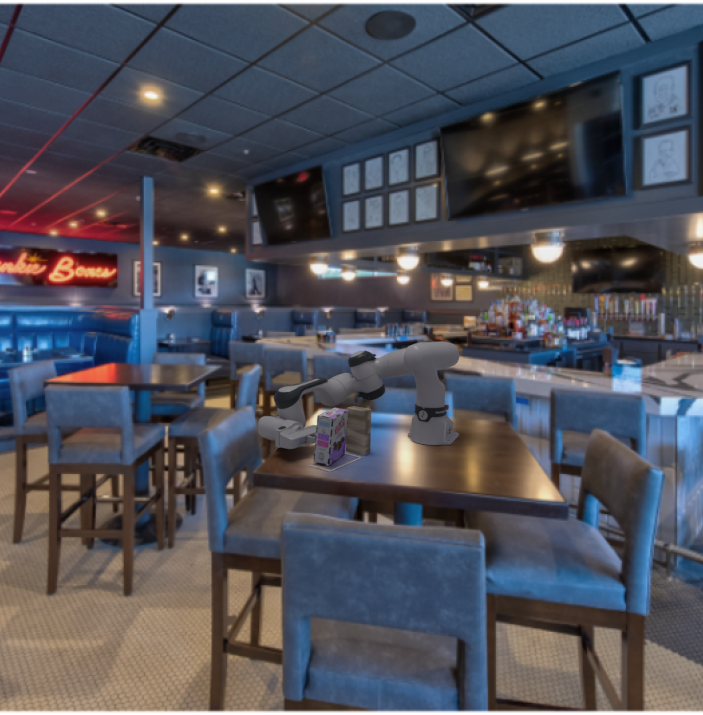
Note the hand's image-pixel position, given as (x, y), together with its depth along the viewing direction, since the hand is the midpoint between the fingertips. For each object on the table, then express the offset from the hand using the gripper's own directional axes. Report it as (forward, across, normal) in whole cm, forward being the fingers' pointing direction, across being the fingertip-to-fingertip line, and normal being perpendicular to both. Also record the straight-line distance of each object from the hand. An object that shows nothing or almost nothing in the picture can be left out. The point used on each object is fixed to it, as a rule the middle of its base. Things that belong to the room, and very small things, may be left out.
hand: (322, 440), depth 160 cm
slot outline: (+6, 0, -6) cm, 9 cm away
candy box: (+3, -1, -6) cm, 7 cm away
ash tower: (+6, -13, -6) cm, 16 cm away
